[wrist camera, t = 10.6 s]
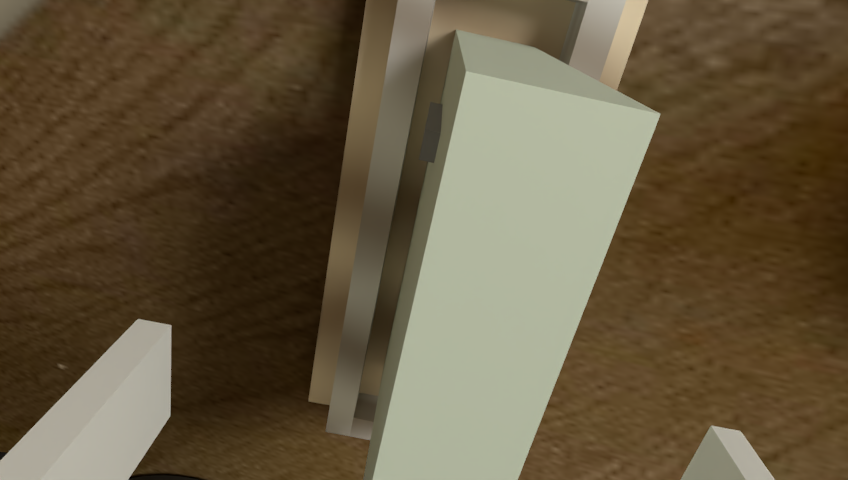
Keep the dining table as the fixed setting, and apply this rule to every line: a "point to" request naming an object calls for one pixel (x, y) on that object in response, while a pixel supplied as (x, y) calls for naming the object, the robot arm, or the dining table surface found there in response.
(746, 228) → the dining table surface
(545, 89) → the door panel
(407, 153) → the door track
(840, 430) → the dining table surface
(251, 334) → the dining table surface
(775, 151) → the dining table surface
